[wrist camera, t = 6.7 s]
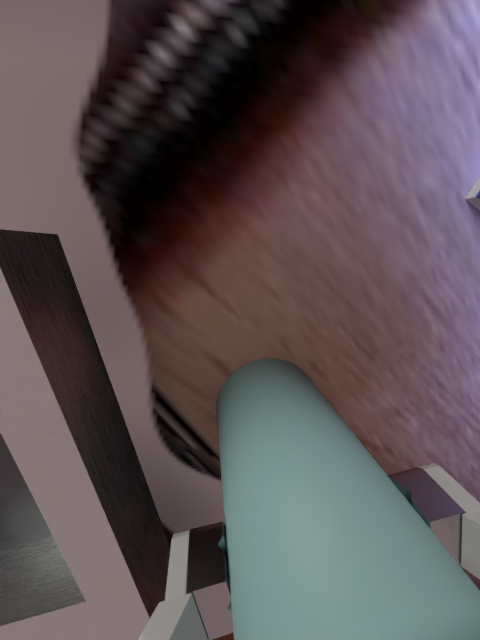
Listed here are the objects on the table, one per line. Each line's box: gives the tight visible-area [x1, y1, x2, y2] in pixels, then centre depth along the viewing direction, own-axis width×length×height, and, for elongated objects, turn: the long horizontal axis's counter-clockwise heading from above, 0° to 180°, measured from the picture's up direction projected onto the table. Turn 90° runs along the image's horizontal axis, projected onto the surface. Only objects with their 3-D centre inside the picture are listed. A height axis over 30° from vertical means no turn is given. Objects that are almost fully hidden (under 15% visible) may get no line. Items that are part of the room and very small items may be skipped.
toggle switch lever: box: [216, 359, 480, 640], centre depth 10 cm, size 5×7×10 cm
